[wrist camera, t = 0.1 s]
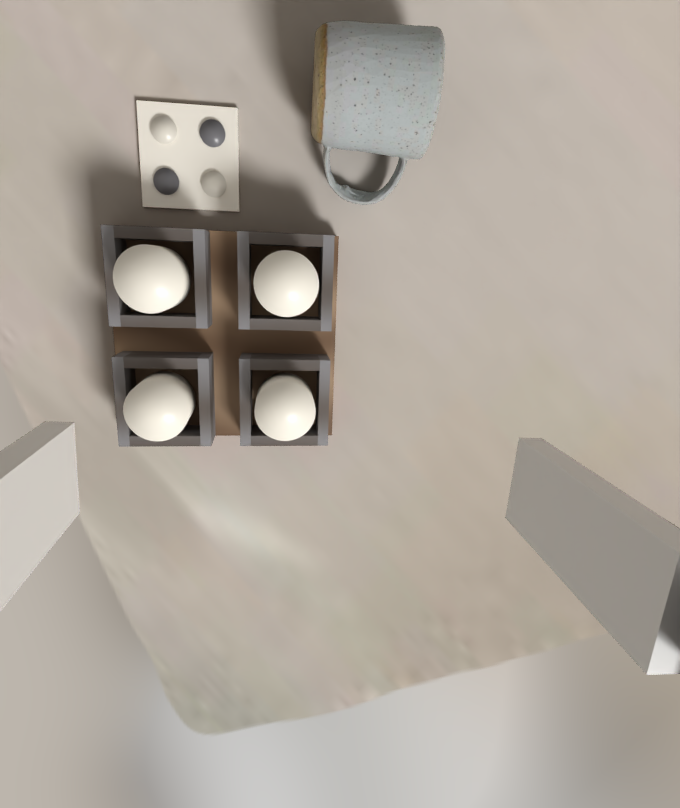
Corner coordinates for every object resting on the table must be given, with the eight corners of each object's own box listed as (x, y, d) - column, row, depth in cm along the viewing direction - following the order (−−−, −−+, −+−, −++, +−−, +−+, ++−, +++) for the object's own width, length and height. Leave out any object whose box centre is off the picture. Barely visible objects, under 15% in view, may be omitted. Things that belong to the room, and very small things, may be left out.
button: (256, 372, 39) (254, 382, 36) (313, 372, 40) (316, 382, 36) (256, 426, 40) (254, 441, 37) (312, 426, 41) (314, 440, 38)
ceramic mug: (309, 43, 36) (317, -10, 29) (421, 54, 37) (456, 5, 30) (306, 202, 39) (312, 191, 32) (409, 208, 40) (438, 198, 33)
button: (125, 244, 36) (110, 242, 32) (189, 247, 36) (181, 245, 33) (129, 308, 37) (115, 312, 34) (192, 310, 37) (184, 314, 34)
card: (137, 101, 36) (135, 99, 35) (238, 108, 37) (237, 106, 36) (143, 207, 38) (141, 206, 37) (239, 212, 39) (238, 211, 38)
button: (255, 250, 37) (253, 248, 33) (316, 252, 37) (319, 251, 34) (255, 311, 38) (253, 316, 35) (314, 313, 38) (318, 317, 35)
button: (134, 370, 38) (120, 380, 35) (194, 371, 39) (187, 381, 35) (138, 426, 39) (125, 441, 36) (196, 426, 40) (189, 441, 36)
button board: (110, 226, 38) (91, 222, 34) (336, 237, 40) (343, 234, 36) (125, 430, 42) (110, 447, 38) (330, 430, 44) (335, 446, 40)
